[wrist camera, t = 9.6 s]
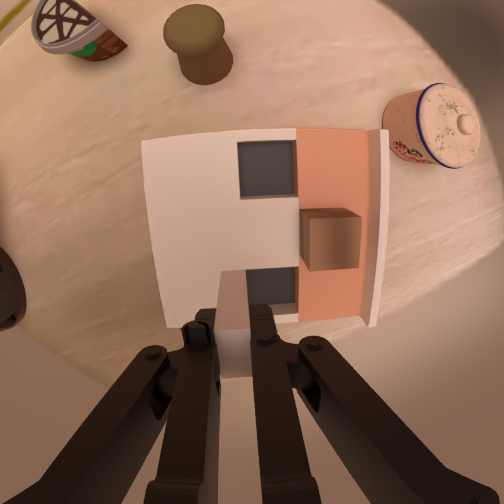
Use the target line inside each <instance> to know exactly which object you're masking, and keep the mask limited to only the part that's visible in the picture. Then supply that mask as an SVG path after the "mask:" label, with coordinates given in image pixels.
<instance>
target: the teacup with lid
mask: <svg viewBox="0 0 504 504" xmlns="http://www.w3.org/2000/svg"><path fill="white" fill-rule="evenodd" d="M383 129H385V130H389V146H390V147H391V149H392V150H393V151H394V152H395V153H396V154H397V155H398V156H399V157H401V158H402V159H404V160H407V161H410V162H419V163H428V164H437V165H442V166H444V167H447V168H452V169H456V168H461V167H463V166H465V165H467V164H468V163H469V162H470V161H471V160H472V159H473V158H474V157H475V155H476V153H477V151H478V148H479V146H480V143H481V139H480V125H479V120H478V117H477V114H476V111H475V109H474V107H473V105H472V104H471V102H470V101H469V99H468V98H467V97H466V96H465V95H464V94H463V93H462V92H461V91H460V90H458V89H457V88H455V87H453V86H451V85H448V84H444V83H436V84H432V85H430V86H428V87H427V88H426V89H423V90H419V91H416V92H413V93H409V94H406V95H403V96H400V97H397V98H395V99H393V100H392V101H391V102H390V103H389V104H388V106H387V107H386V109H385V112H384V115H383Z"/></svg>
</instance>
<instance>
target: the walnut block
mask: <svg viewBox="0 0 504 504" xmlns="http://www.w3.org/2000/svg"><path fill="white" fill-rule="evenodd" d="M299 217H300V256H301V258H302V259H303V261H304V263H305V265H306V267H307V268H308V270H309V272H312V271H326V270H340V269H353V268H359V261H360V247H361V228H362V217H361V216H359V215H357V214H355V213H354V212H352V211H350V210H348V209H346V208H313V209H299Z"/></svg>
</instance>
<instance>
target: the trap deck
mask: <svg viewBox="0 0 504 504" xmlns="http://www.w3.org/2000/svg"><path fill="white" fill-rule="evenodd" d="M141 153H142V166H143V178H144V188H145V198H146V206H147V215H148V223H149V230H150V237H151V244H152V251H153V257H154V263H155V269H156V275H157V280H158V286H159V291H160V296H161V301H162V306H163V311H164V316H165V321H166V325H167V328H182V326H183V325H184V324H186V323H187V322H190V321H193V320H195V315H196V313H197V312H198V311H199V310H200V309H205V308H216V307H217V299H218V291H219V283H220V275H221V271H230V270H246V283H247V296H248V305H261V304H267V305H268V306H270V307H271V308H272V311H273V316H274V320H275V324H278V323H291V322H302V321H313V320H323V319H332V318H341V317H350V316H358V315H360V316H361V318H362V319H363V321H364V322H365V324H366V325H367V327H368V328H370V327H376V322H377V316H378V310H379V304H380V297H381V290H382V282H383V274H384V265H385V255H386V244H387V231H388V214H389V180H390V162H389V130H385V129H377V130H371V131H361V130H344V129H317V128H276V129H248V130H231V131H218V132H206V133H196V134H187V135H179V136H171V137H163V138H156V139H150V140H144V141H141ZM313 208H346V209H348V210H350V211H352V212H354V213H355V214H357V215H359V216H361V217H362V228H361V247H360V261H359V268H353V269H340V270H326V271H312V272H309V270H308V268H307V267H306V265H305V263H304V261H303V259H302V258H301V256H300V217H299V209H313Z"/></svg>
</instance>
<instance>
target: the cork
mask: <svg viewBox="0 0 504 504" xmlns="http://www.w3.org/2000/svg"><path fill="white" fill-rule="evenodd" d="M224 32H225V28H224V20H223V18H222V17H221V15H220V14H219V13H218V12H217V11H216V10H215V9H214V8H212V7H209V6H207V5H201V4H192V5H187V6H184V7H182V8H179V9H178V10H176V11H175V12H174V13H172V14H171V16H170V17H169V18H168V19H167V20H166V23H165V25H164V29H163V36H164V40H165V42H166V45H167V46H168V47H169V48H170V49H171V50H172V51H173V52H175V53H177V55H178V59H179V64H180V68H181V70H182V73H183V75H184V76H185V77H186V78H187V79H188V80H189V81H191V82H193V83H195V84H200V85H209V84H213V83H216V82H218V81H220V80H222V79H223V78H224V77H226V76H227V74H228V73H229V72H230V70H231V68H232V64H233V55H232V53H231V51H230V49H229V47H228V45H227V44H226V42H225V40H224V38H223V35H224Z"/></svg>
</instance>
